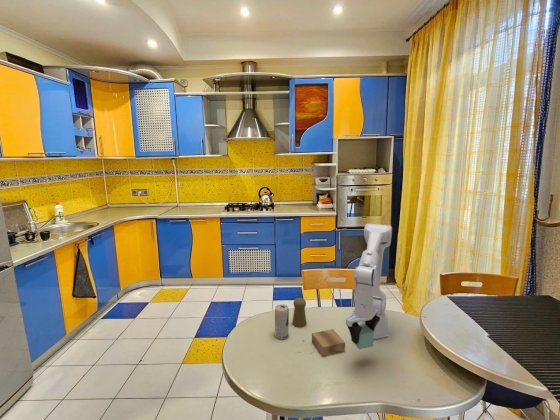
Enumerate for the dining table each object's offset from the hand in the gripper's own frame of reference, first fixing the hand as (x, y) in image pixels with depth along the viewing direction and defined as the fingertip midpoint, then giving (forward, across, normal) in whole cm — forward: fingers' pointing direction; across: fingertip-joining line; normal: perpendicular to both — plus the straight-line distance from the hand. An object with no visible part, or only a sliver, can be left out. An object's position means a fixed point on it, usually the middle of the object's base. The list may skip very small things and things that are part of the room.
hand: (362, 338), depth 103 cm
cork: (+9, +3, -31) cm, 33 cm away
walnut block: (+9, +4, -13) cm, 16 cm away
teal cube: (+2, 0, 0) cm, 2 cm away
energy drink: (+9, +14, -28) cm, 33 cm away
